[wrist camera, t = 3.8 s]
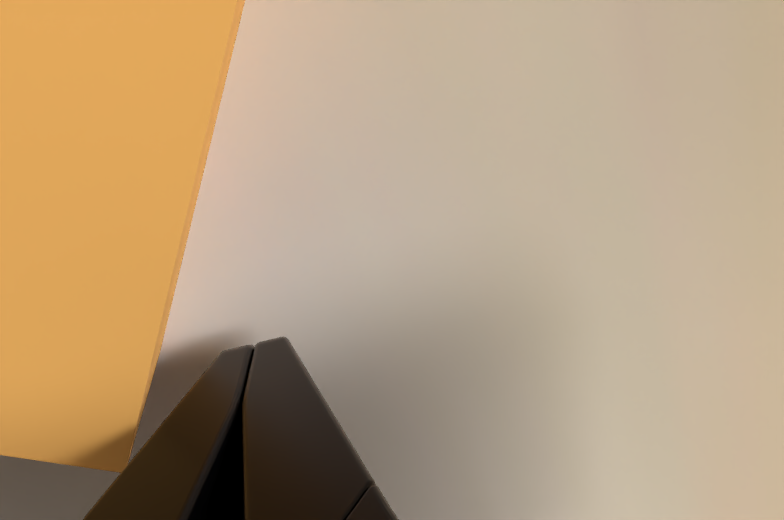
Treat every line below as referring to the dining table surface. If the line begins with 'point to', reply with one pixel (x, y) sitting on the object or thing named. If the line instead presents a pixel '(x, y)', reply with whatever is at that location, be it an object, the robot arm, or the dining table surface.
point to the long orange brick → (97, 208)
